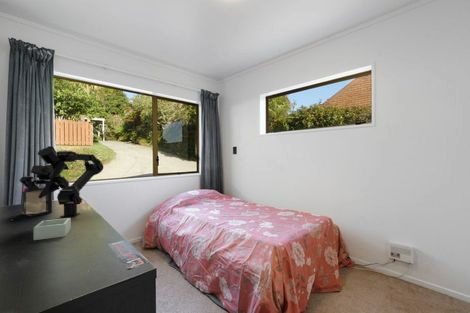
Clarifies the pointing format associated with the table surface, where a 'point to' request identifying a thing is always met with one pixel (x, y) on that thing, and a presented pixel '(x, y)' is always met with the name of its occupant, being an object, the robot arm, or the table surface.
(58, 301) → the table surface
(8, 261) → the table surface
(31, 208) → the tan upright block
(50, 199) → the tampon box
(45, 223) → the pale green open tray
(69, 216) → the robot arm
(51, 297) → the table surface
